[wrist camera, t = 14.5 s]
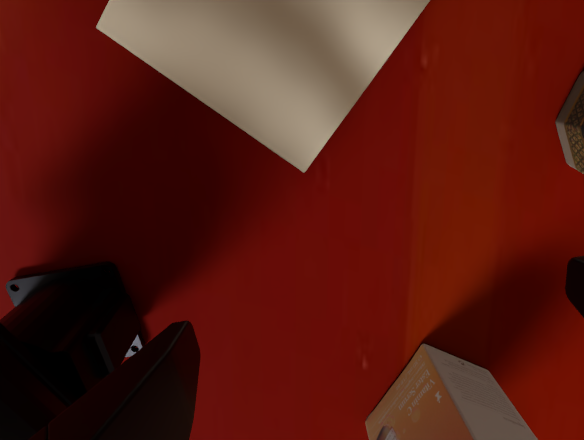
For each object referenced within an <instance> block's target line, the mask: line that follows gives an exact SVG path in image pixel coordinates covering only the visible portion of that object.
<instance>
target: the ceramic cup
mask: <svg viewBox="0 0 584 440" xmlns="http://www.w3.org/2000/svg"><path fill="white" fill-rule="evenodd" d="M556 127H557V131H558V134H559V138H560V141H561V145H562V149H563V152H564V156H565V159H566V162H567V163H568V165H569V166H571V167H573V168H575V169H576V170H578V171H579V172H581V173H583V174H584V71H583V72H581V74H580V75H579V77H578V79H577V80H576V82H575V84H574V86H573V88H572V90H571V92H570V94H569V96H568V98H567V100H566V102H565V104H564V105H563V107H562V109H561V111H560V113H559V115H558V117H557V119H556Z"/></svg>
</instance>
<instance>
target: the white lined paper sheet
mask: <svg viewBox="0 0 584 440" xmlns="http://www.w3.org/2000/svg"><path fill="white" fill-rule="evenodd" d="M429 1H430V0H109V2H108V4H107V6H106V8H105V10H104V12H103V14H102V16H101V18H100V20H99V22H98V24H97V26H96V28H97V29H99V30H100V31H101V32H103V33H104V34H106V35H107V36H109V37H110V38H111V39H113V40H114V41H116V42H117V43H119V44H120V45H122V46H123V47H124V48H126V49H127V50H129V51H130V52H132V53H133V54H134V55H136V56H137V57H139V58H140V59H142V60H143V61H144V62H146V63H147V64H149V65H150V66H152V67H153V68H155V69H156V70H157V71H159V72H160V73H162V74H163V75H165V76H166V77H167V78H169V79H170V80H172V81H173V82H175V83H176V84H177V85H179V86H180V87H182V88H183V89H185V90H186V91H188V92H189V93H190V94H192V95H193V96H195V97H196V98H198V99H199V100H200V101H202V102H203V103H205V104H206V105H208V106H209V107H210V108H212V109H213V110H215V111H216V112H218V113H219V114H220V115H222V116H223V117H225V118H226V119H228V120H229V121H231V122H232V123H233V124H235V125H236V126H238V127H239V128H241V129H242V130H243V131H245V132H246V133H248V134H249V135H251V136H252V137H253V138H255V139H256V140H258V141H259V142H261V143H262V144H264V145H265V146H266V147H268V148H269V149H271V150H272V151H274V152H275V153H276V154H278V155H279V156H281V157H282V158H284V159H285V160H286V161H288V162H289V163H291V164H292V165H294V166H295V167H297V168H298V169H299V170H301V171H302V172H304V173H305V171H306V170H307V168H308V167H309V166H310V164H311V163H312V162H313V160H314V159H315V157H316V156H317V155H318V153H319V152H320V151H321V149H322V148H323V146H324V145H325V144H326V142H327V141H328V140H329V138H330V137H331V136H332V134H333V133H334V131H335V130H336V129H337V127H338V126H339V125H340V123H341V122H342V120H343V119H344V118H345V116H346V115H347V114H348V112H349V111H350V109H351V108H352V107H353V105H354V104H355V103H356V101H357V100H358V98H359V97H360V96H361V94H362V93H363V92H364V90H365V89H366V88H367V86H368V85H369V83H370V82H371V81H372V79H373V78H374V77H375V75H376V74H377V72H378V71H379V70H380V68H381V67H382V66H383V64H384V63H385V61H386V60H387V59H388V57H389V56H390V55H391V53H392V52H393V50H394V49H395V48H396V46H397V45H398V44H399V42H400V41H401V40H402V38H403V37H404V35H405V34H406V33H407V31H408V30H409V29H410V27H411V26H412V24H413V23H414V22H415V20H416V19H417V18H418V16H419V15H420V13H421V12H422V11H423V9H424V8H425V7H426V5H427V4H428V2H429Z"/></svg>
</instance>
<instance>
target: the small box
mask: <svg viewBox="0 0 584 440" xmlns="http://www.w3.org/2000/svg"><path fill="white" fill-rule="evenodd" d="M365 423H366V428H367V432H368V436H369V440H538V439H537V438H536V437H535V435H534V434H533V432H532V431H531V430H530V428H529V427H528V425H527V424H526V423H525V421H524V420H523V418H522V417H521V415H520V414H519V413H518V411H517V410H516V408H515V407H514V406H513V404H512V403H511V401H510V400H509V399H508V397H507V396H506V394H505V393H504V392H503V390H502V389H501V387H500V386H499V385H498V383H497V382H496V380H495V379H494V378H493V376H492V375H491V373H490V372H489V371H488V370H487V369H484V368H482V367H479V366H477V365H475V364H472V363H470V362H467V361H465V360H463V359H460V358H458V357H455V356H453V355H450V354H448V353H446V352H443V351H441V350H439V349H436V348H434V347H431V346H429V345H427V344H422V345H421V346H420V347H419V349H418V351H417V352H416V353H415V355H414V357H413V358H412V360H411V361H410V362H409V364H408V365H407V367H406V368H405V369H404V371H403V372H402V373H401V375H400V376H399V377H398V379H397V380H396V381H395V383H394V384H393V385H392V387H391V388H390V389H389V391H388V392H387V393H386V395H385V396H384V397H383V399H382V400H381V401H380V403H379V404H378V405H377V407H376V408H375V409H374V411H373V412H372V413H371V414H370V415H369V416H368V418H367V419H366V422H365Z"/></svg>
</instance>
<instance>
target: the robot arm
mask: <svg viewBox="0 0 584 440" xmlns="http://www.w3.org/2000/svg"><path fill="white" fill-rule="evenodd" d="M104 269H108V270H109V271H110V273H107V272H105V270H104ZM15 284H16V285H18V287H19V288H17V287H16V286H15ZM6 289H7V291H8V293H9V295H10V297H11V299H12V301H13V303H14V306H15V308H14V309H13V310H11V311H10V312H9V313H8V314H7V315H6V316H4V317H3V318H2V319H1V320H0V440H189V437H190V433H191V428H192V423H193V418H194V411H195V402H196V393H197V384H198V375H199V366H200V349H199V345H198V342H197V339H196V336H195V332H194V329H193V326H192V324H191V322H189V321H181V322H175V323H172V324H171V325H169V326H168V327H167V328H166V329H165V330H163V331H162V332H161V333H160V334H158V335H157V336H156V337H155V338H153V339H152V340H151V341H150V342H148V343H147V344H146V345H145V343H144V341H143V338H142V335H141V332H140V329H141V326H140V323H139V321H138V318H137V315H136V312H135V310H134V307H133V304H132V301H131V299H130V296H129V295H128V294H127V293H126V292H125V289H124V286H123V284H122V281H121V278H120V275H119V273H118V270H117V268H116V266H115V265H114V264H113V263H111V262H103V263H97V264H91V265H85V266H79V267H73V268H67V269H61V270H55V271H49V272H44V273H38V274H32V275H26V276H20V277H15V278H13V279H11V280H10V281H8V283H7V284H6ZM565 291H566V295H567V297H568V299H569V300H570V302H571V303H572V304H573V305H574V306H575V308H576V309H577V310H578V311H579V313H580V314H581V315H582V316H583V318H584V256H579V257H574V258H571V259H570V260H569V262H568V265H567V275H566V286H565ZM133 345H135V346H138V348H135V347H134V346H133ZM129 356H131V357H130V358H129V359H127V360H126V361H125V362H124V363H122V361H123V359H124V358H125V357H129ZM121 363H122V364H121Z"/></svg>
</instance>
